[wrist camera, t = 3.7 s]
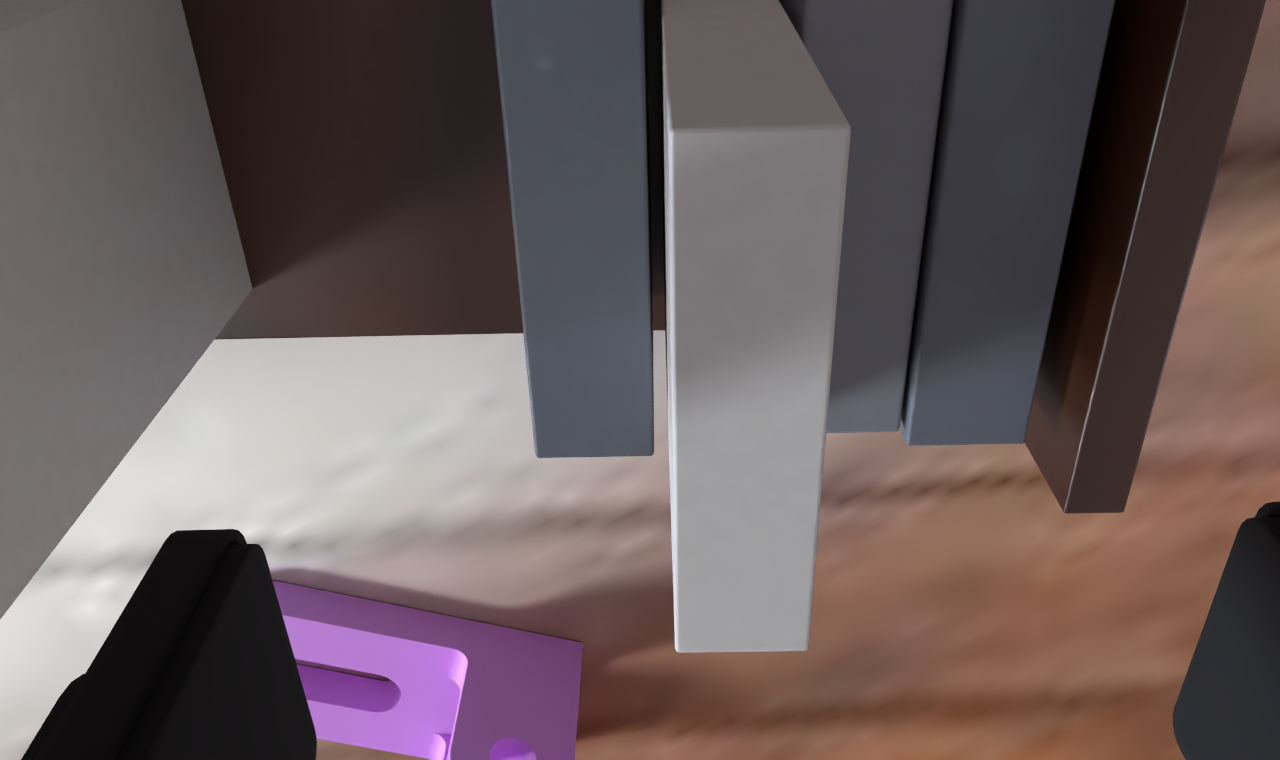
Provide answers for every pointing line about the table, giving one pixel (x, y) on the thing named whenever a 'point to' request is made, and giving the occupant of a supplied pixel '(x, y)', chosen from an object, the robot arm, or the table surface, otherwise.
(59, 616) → the table surface
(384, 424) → the table surface
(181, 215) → the white books
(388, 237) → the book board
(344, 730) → the bracket
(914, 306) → the grey books
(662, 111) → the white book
